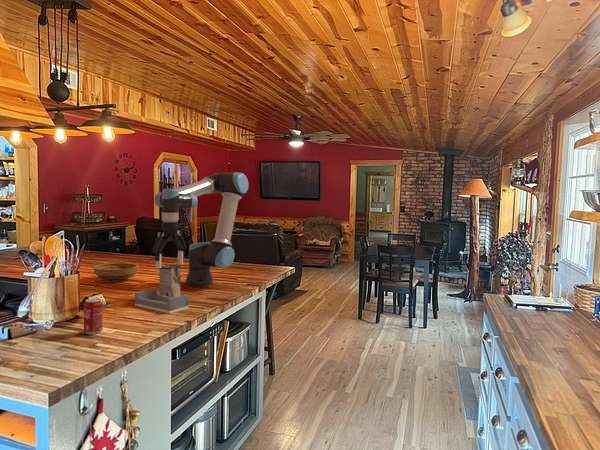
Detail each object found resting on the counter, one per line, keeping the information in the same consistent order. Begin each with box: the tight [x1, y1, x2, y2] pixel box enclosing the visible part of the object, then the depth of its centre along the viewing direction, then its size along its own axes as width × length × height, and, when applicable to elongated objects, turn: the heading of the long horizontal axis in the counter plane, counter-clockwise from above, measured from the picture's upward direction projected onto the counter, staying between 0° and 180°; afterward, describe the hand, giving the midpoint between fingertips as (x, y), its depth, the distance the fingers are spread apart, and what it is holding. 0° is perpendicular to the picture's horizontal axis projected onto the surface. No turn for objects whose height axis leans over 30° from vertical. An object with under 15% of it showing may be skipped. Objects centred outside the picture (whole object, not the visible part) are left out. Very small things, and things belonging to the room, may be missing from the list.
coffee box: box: [158, 264, 181, 297], centre depth 210 cm, size 9×6×16 cm
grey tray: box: [134, 287, 190, 314], centre depth 197 cm, size 11×22×6 cm, turn 60°
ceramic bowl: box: [92, 262, 140, 283], centre depth 252 cm, size 30×24×8 cm
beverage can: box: [83, 298, 104, 335], centre depth 161 cm, size 6×6×12 cm
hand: (169, 265), depth 210 cm, fingers open, 13 cm apart
